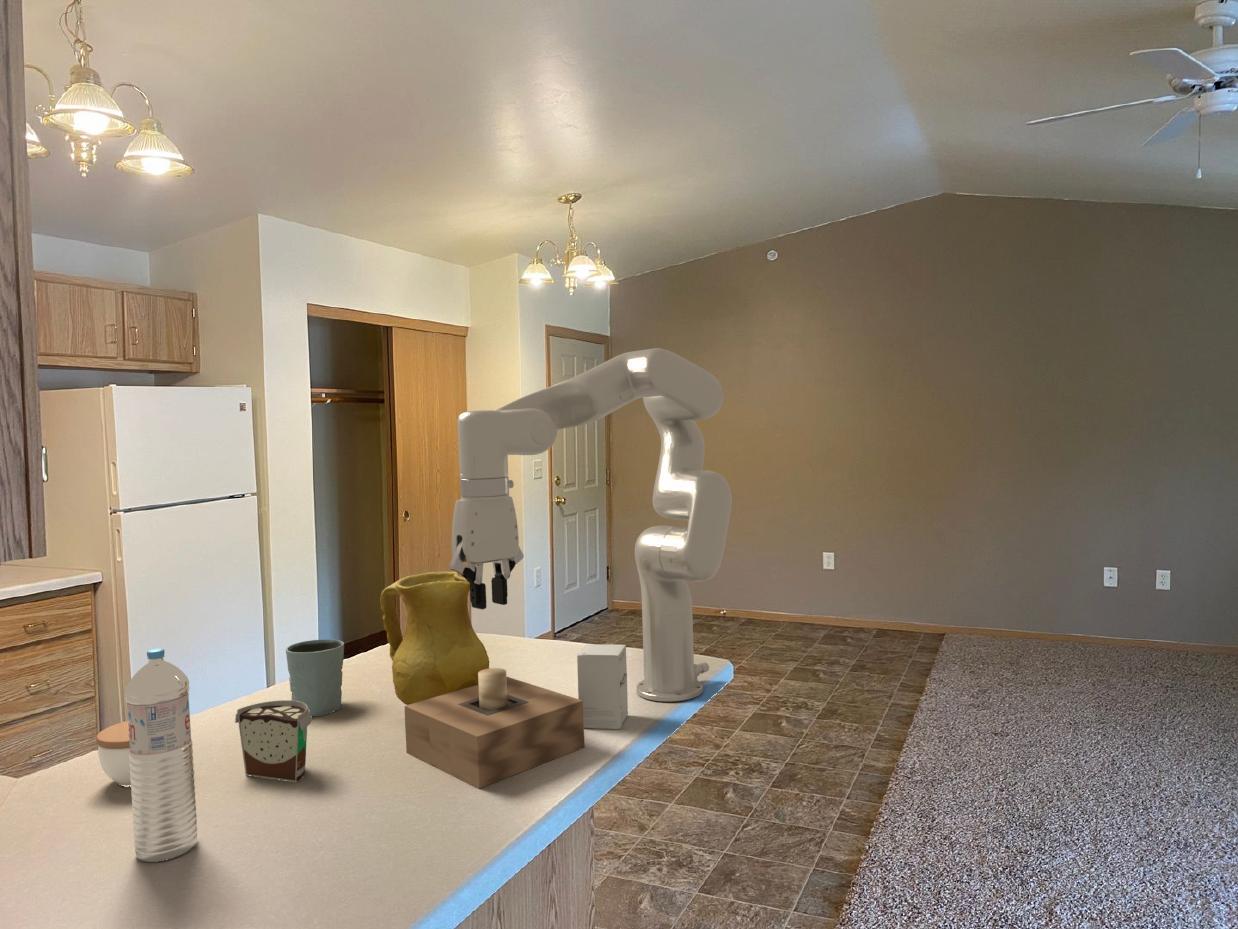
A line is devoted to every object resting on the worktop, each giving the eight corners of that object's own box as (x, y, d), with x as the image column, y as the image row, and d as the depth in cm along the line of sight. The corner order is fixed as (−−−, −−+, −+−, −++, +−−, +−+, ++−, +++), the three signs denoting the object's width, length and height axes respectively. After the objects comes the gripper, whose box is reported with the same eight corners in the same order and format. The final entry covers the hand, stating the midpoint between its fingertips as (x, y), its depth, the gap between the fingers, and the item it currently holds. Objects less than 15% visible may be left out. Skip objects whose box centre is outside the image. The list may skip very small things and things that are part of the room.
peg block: (508, 718, 144) (506, 676, 144) (584, 747, 130) (582, 700, 130) (406, 752, 130) (404, 705, 130) (479, 789, 116) (477, 736, 116)
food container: (332, 767, 126) (329, 702, 125) (304, 783, 120) (301, 716, 119) (267, 759, 130) (264, 696, 129) (237, 774, 124) (234, 709, 123)
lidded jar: (99, 801, 116) (95, 736, 116) (99, 775, 125) (96, 715, 125) (184, 782, 122) (180, 719, 121) (179, 758, 131) (175, 700, 131)
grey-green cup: (276, 715, 150) (273, 650, 150) (316, 697, 160) (313, 636, 159) (320, 720, 146) (317, 654, 146) (358, 702, 156) (355, 640, 155)
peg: (497, 709, 133) (495, 666, 133) (513, 715, 130) (511, 671, 129) (474, 716, 130) (472, 672, 130) (490, 722, 127) (488, 678, 126)
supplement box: (621, 730, 137) (618, 655, 136) (578, 728, 138) (575, 654, 138) (629, 715, 144) (627, 643, 143) (588, 713, 145) (585, 643, 145)
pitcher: (423, 739, 136) (416, 589, 135) (374, 712, 150) (368, 576, 149) (510, 713, 147) (504, 574, 146) (457, 690, 161) (451, 564, 160)
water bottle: (151, 838, 105) (140, 644, 104) (207, 834, 105) (196, 641, 104) (123, 866, 98) (111, 659, 97) (183, 862, 98) (171, 656, 97)
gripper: (512, 485, 137) (516, 594, 137) (425, 492, 125) (431, 612, 126) (540, 486, 131) (545, 600, 132) (453, 494, 120) (458, 619, 121)
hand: (489, 604), depth 129 cm, fingers open, 3 cm apart
